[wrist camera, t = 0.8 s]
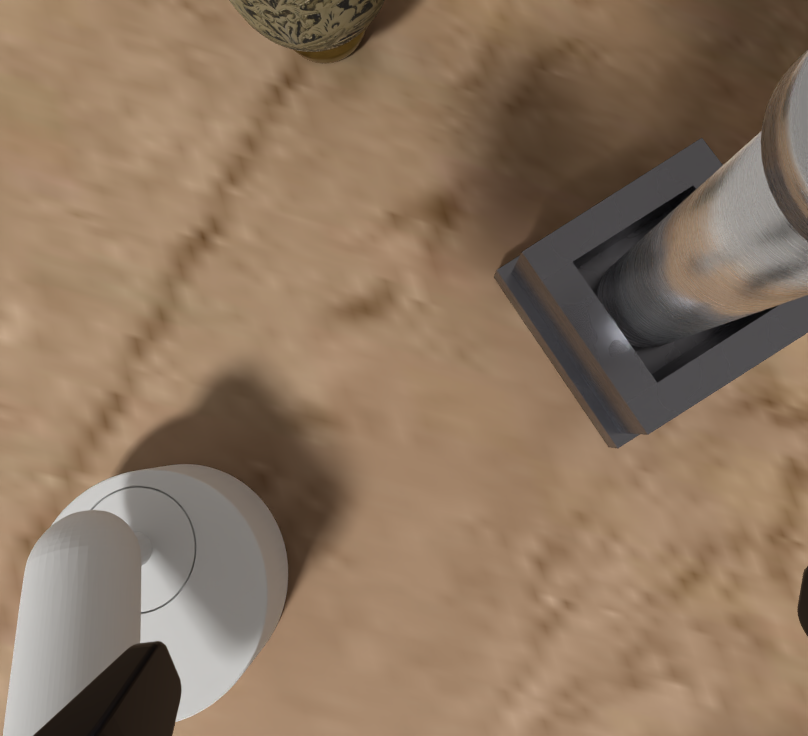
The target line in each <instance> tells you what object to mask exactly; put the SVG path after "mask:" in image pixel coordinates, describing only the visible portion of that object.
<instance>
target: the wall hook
mask: <svg viewBox="0 0 808 736" xmlns="http://www.w3.org/2000/svg"><path fill="white" fill-rule="evenodd" d="M287 587H288V561H287V553H286V549H285V544H284V541H283V537H282V534H281V532H280V529H279V527H278V525H277V523H276V521H275V519H274V517H273V515H272V513H271V512H270V510H269V509H268V507H267V506H266V505H265V503H264V502H263V501H262V500H261V499H260V497H259V496H258V495H257V494H256V493H255V492H254V491H253V490H251V489H250V488H249V487H248V486H247V485H245V484H244V483H243V482H241V481H240V480H238V479H237V478H235V477H233V476H231V475H229V474H227V473H225V472H223V471H220V470H217V469H214V468H211V467H207V466H202V465H194V464H176V465H168V466H162V467H155V468H149V469H143V470H136V471H131V472H127V473H123V474H119V475H116V476H113V477H111V478H108V479H106V480H104V481H101V482H100V483H98V484H96V485H94V486H92V487H91V488H89V489H88V490H86V491H85V492H83V493H82V494H81V495H79V496H78V497H77V498H76V499H74V500H73V501H72V502H71V503H70V504H69V505H68V506H67V507H66V508H65V509H64V510H63V511H62V512H61V514H60V515H59V516H58V517H57V519H56V520H55V521H54V523H53V524H52V525H51V527H50V528H49V529H48V530H47V531H46V532H45V533H44V534H43V535H42V536H41V537H40V539H39V540H38V541H37V543H36V544H35V546H34V547H33V549H32V551H31V553H30V555H29V558H28V561H27V564H26V568H25V573H24V579H23V586H22V593H21V600H20V607H19V614H18V622H17V630H16V638H15V645H14V653H13V661H12V669H11V676H10V684H9V692H8V699H7V707H6V715H5V723H4V730H3V736H33V735H34V734H35V733H36V732H37V731H38V730H40V729H41V728H42V727H43V726H44V725H45V724H46V723H47V722H48V721H49V720H50V719H51V718H53V717H54V716H55V715H56V714H57V713H58V712H59V711H60V710H61V709H62V708H63V707H65V706H66V705H67V704H68V703H69V702H70V701H71V700H72V699H73V698H74V697H75V696H77V695H78V694H79V693H80V692H81V691H82V690H83V689H84V688H85V687H86V686H87V685H88V684H90V683H91V682H92V681H93V680H94V679H95V678H96V677H97V676H98V675H99V674H100V673H102V672H103V671H104V670H105V669H106V668H107V667H108V666H109V665H110V664H111V663H112V662H114V661H115V660H116V659H117V658H118V657H119V656H120V655H121V654H122V653H123V652H124V651H125V650H127V649H128V648H129V647H130V646H132V645H134V644H137V643H145V642H154V641H161V642H163V643H164V644H165V645H166V647H167V649H168V651H169V654H170V656H171V658H172V661H173V663H174V665H175V668H176V670H177V672H178V675H179V677H180V680H181V688H182V692H181V699H180V704H179V708H178V713H177V717H176V721H175V722H177V721H180V720H183V719H186V718H188V717H190V716H193V715H195V714H197V713H199V712H200V711H202V710H204V709H205V708H207V707H209V706H210V705H212V704H213V703H214V702H216V701H217V700H218V699H219V698H221V697H222V696H223V695H224V694H225V693H226V692H227V691H228V690H229V689H230V688H231V687H232V686H233V685H234V684H235V683H236V682H237V681H238V679H239V678H240V677H241V676H242V674H243V673H244V672H245V670H246V669H247V668H248V667H249V665H250V664H251V663H252V661H253V660H254V659H255V657H256V656H257V655H258V654H259V652H260V651H261V650H262V648H263V647H264V646H265V644H266V643H267V641H268V640H269V638H270V637H271V635H272V633H273V632H274V630H275V628H276V626H277V624H278V621H279V619H280V616H281V614H282V610H283V607H284V603H285V599H286V594H287Z"/></svg>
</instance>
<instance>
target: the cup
mask: <svg viewBox="0 0 808 736" xmlns="http://www.w3.org/2000/svg"><path fill="white" fill-rule="evenodd" d="M229 1H230V2H231V3H232V5H233V6H234V7H235V9H236V10H237V11H238V12H239V14H240V15H241V16H242V17H243V18H244V19H245V20H246V21H247V22H248V23H249V24H250V25H251V26H252V27H253V28H254V29H255V30H256V31H258V32H259V33H260V34H262V35H263V36H265V37H266V38H268V39H269V40H271V41H272V42H274V43H276V44H278V45H281V46H284V47H286V48H289V49H293V50H294V51H295V52H297V53H298V54H299V55H300V56H302V57H304V58H305V59H307V60H309V61H312V62H316V63H333V62H337V61H340V60H342V59H344V58H346V57H347V56H349V55H350V54H351V53H352V52H353V51H354V50H355V49H356V48H357V47H358V45H359V44H360V42H361V40H362V38H363V36H364V33H365V30H366V28H367V27H368V26H369V24H370V23H371V22H372V21H373V19H374V18H375V17H376V15H377V14H378V12H379V10H380V9H381V7H382V5H383V2H384V0H229Z"/></svg>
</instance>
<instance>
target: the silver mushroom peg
mask: <svg viewBox="0 0 808 736" xmlns="http://www.w3.org/2000/svg"><path fill="white" fill-rule="evenodd" d="M806 295H808V49H807V50H806V51H805V52H804V53H803V54H802V55H801V56H800V57H799V58H798V59H797V60H796V61H795V62H794V63H793V64H792V65H791V67H790V68H789V69H788V70H787V72H786V73H785V74H784V75H783V77H782V78H781V79H780V81H779V83H778V84H777V86H776V88H775V90H774V91H773V93H772V95H771V98H770V100H769V103H768V105H767V108H766V111H765V115H764V119H763V124H762V131H761V132H760V133H758V134H757V135H756V136H755V137H754V138H753V139H752V140H751V141H750V142H748V143H747V144H746V145H745V146H744V147H743V148H742V149H741V150H740V151H738V152H737V153H736V154H735V155H734V156H733V157H732V158H731V159H730V160H728V161H727V162H726V163H725V164H724V165H723V166H722V167H721V168H720V169H718V170H717V171H716V172H715V173H714V174H713V175H712V176H711V177H710V178H708V179H707V180H706V181H705V182H704V183H703V184H702V185H701V186H700V187H698V188H697V189H696V190H695V191H694V192H693V193H692V194H691V195H690V196H688V197H687V198H686V199H685V200H684V201H683V202H682V203H681V204H680V205H678V206H677V207H676V208H675V209H674V210H673V211H672V212H671V213H670V214H668V215H667V216H666V217H665V218H664V219H663V220H662V221H661V222H660V223H658V224H657V225H656V226H655V227H654V228H653V229H652V230H651V231H650V232H648V233H647V234H646V235H645V236H644V237H643V238H642V239H641V240H640V241H638V242H637V243H636V244H635V245H634V246H633V247H632V248H631V249H630V250H628V251H627V252H626V253H625V254H624V255H623V256H622V257H621V258H620V259H618V260H617V261H616V262H615V263H614V264H613V265H612V266H611V267H610V268H609V269H608V270H607V271H606V272H605V274H604V275H603V277H602V279H601V281H600V283H599V286H598V290H597V298H598V299H599V301H600V302H601V303H602V305H603V306H604V308H605V309H606V311H607V312H608V313H609V315H610V316H611V318H612V319H613V321H614V322H615V323H616V325H617V326H618V328H619V329H620V330H621V332H622V333H623V335H624V336H625V338H626V339H627V340H628V342H629V343H630V345H634V346H638V347H657V346H661V345H665V344H667V343H670V342H673V341H676V340H679V339H682V338H685V337H688V336H691V335H693V334H696V333H699V332H702V331H705V330H708V329H711V328H714V327H717V326H719V325H722V324H725V323H728V322H731V321H734V320H737V319H740V318H743V317H745V316H748V315H751V314H754V313H757V312H760V311H763V310H766V309H769V308H771V307H774V306H777V305H780V304H783V303H786V302H789V301H792V300H795V299H797V298H800V297H803V296H806Z"/></svg>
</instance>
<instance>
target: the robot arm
mask: <svg viewBox="0 0 808 736" xmlns="http://www.w3.org/2000/svg"><path fill="white" fill-rule="evenodd" d="M798 617H799V621H800V623H801V626H802V628H803V630H804V631H805V633H806V635H807V636H808V567H807V568H806V569H805V570H804V573H803V578H802V584H801V590H800V596H799V602H798ZM181 692H182V688H181V680H180V677H179V675H178V672H177V670H176V668H175V665H174V663H173V661H172V658H171V656H170V654H169V651H168V649H167V647H166V645H165V644H164V643H163V642H161V641H154V642H145V643H137V644H134V645H132V646H130V647H129V648H128V649H127V650H125V651H124V652H123V653H122V654H121V655H120V656H119V657H118V658H117V659H116V660H115V661H114V662H112V663H111V664H110V665H109V666H108V667H107V668H106V669H105V670H104V671H103V672H102V673H100V674H99V675H98V676H97V677H96V678H95V679H94V680H93V681H92V682H91V683H90V684H88V685H87V686H86V687H85V688H84V689H83V690H82V691H81V692H80V693H79V694H78V695H77V696H75V697H74V698H73V699H72V700H71V701H70V702H69V703H68V704H67V705H66V706H65V707H63V708H62V709H61V710H60V711H59V712H58V713H57V714H56V715H55V716H54V717H53V718H51V719H50V720H49V721H48V722H47V723H46V724H45V725H44V726H43V727H42V728H41V729H40V730H38V731H37V732H36V733H35V734H34V735H33V736H172V734H173V730H174V726H175V721H176V717H177V713H178V708H179V704H180V699H181Z"/></svg>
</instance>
